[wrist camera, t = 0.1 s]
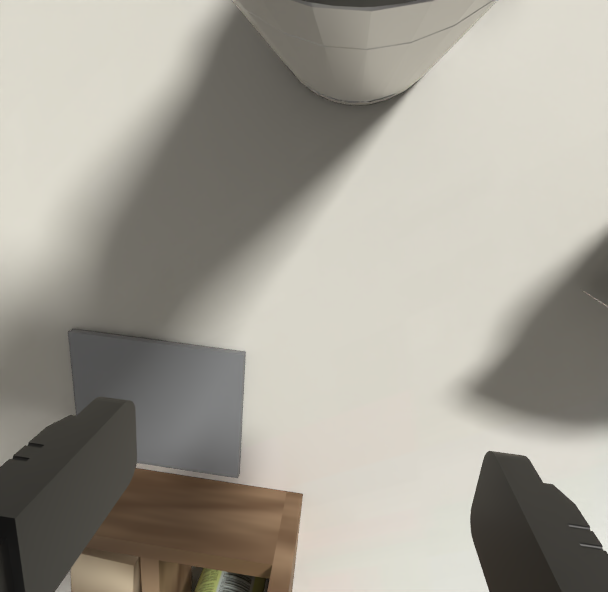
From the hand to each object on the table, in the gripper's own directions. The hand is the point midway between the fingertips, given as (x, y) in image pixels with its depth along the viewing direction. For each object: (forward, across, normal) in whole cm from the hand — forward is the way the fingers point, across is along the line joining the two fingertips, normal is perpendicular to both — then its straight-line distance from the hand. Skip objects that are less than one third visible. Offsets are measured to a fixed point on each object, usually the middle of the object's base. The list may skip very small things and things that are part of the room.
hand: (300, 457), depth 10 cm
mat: (+18, +11, +11) cm, 24 cm away
